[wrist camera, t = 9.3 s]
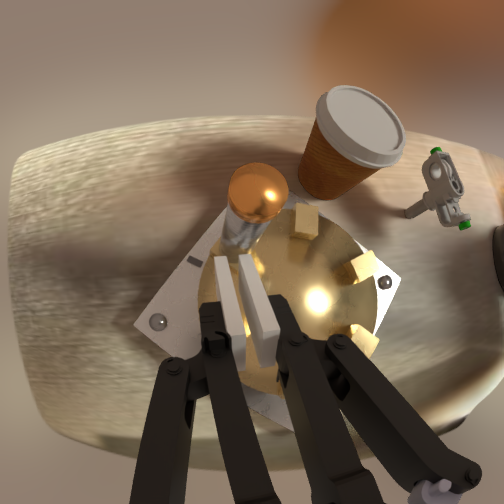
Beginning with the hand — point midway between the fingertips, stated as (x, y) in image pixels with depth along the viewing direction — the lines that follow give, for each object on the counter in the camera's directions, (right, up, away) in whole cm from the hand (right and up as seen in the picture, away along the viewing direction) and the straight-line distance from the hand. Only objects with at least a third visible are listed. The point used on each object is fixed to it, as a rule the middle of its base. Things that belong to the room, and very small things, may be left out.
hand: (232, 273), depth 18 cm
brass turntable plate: (+4, -3, +7) cm, 9 cm away
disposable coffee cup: (+10, +11, +15) cm, 21 cm away
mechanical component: (+23, +7, +17) cm, 29 cm away
